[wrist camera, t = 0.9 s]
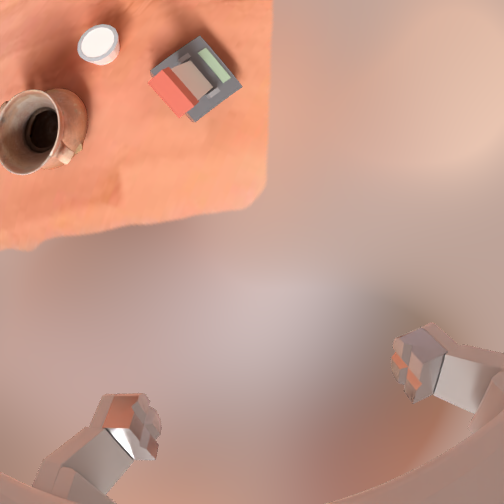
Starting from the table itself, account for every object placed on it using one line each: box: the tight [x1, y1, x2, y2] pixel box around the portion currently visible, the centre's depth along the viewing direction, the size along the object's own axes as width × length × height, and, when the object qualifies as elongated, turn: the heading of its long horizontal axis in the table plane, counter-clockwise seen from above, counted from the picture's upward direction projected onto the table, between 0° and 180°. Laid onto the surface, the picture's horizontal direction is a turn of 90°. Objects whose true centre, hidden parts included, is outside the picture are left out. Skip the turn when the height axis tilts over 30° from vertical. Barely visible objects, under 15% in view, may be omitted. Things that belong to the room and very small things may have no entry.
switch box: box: [150, 36, 242, 122], centre depth 39 cm, size 10×12×8 cm
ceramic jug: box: [0, 88, 88, 175], centre depth 31 cm, size 18×14×14 cm
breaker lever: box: [148, 61, 213, 118], centre depth 33 cm, size 3×6×13 cm, turn 37°
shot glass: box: [77, 24, 120, 65], centre depth 31 cm, size 7×7×7 cm
